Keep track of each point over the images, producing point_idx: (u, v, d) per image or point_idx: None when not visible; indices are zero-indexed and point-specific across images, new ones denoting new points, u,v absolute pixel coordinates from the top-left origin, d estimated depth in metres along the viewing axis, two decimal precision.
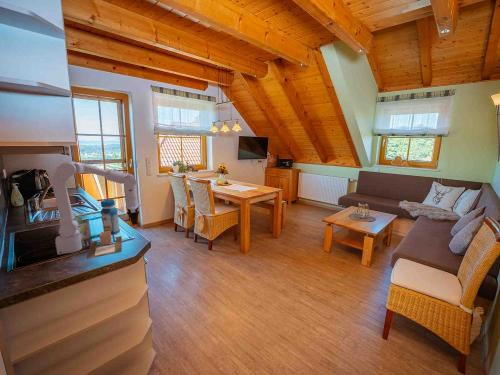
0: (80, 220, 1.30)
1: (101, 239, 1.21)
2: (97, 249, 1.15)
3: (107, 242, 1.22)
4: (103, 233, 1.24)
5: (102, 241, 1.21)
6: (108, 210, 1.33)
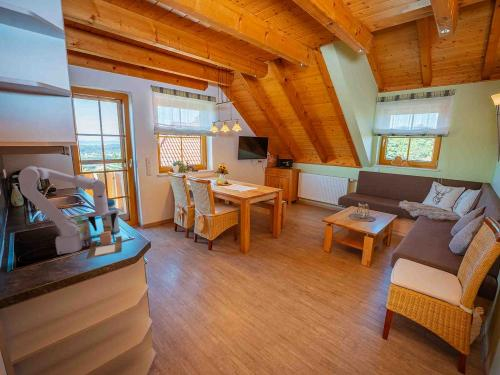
0: (80, 220, 1.30)
1: (101, 239, 1.21)
2: (97, 249, 1.15)
3: (107, 242, 1.22)
4: (103, 233, 1.24)
5: (102, 241, 1.21)
6: None
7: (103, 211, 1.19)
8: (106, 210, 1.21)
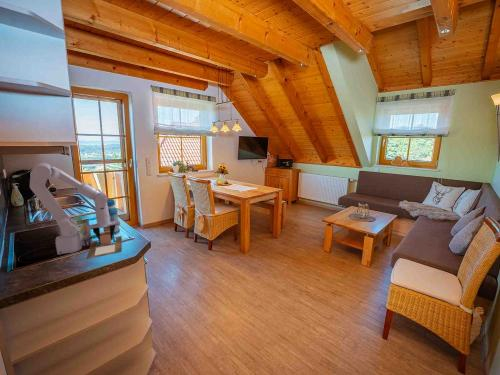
0: (80, 220, 1.30)
1: (101, 239, 1.21)
2: (97, 249, 1.15)
3: (107, 242, 1.22)
4: (103, 233, 1.24)
5: (102, 241, 1.21)
6: None
7: (105, 223, 1.21)
8: (108, 222, 1.22)
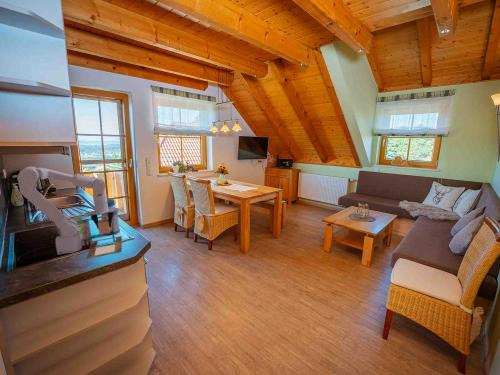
0: (80, 220, 1.30)
1: (99, 226, 1.19)
2: (97, 249, 1.15)
3: (105, 229, 1.21)
4: (101, 220, 1.22)
5: (100, 228, 1.20)
6: None
7: (103, 210, 1.19)
8: (106, 209, 1.21)
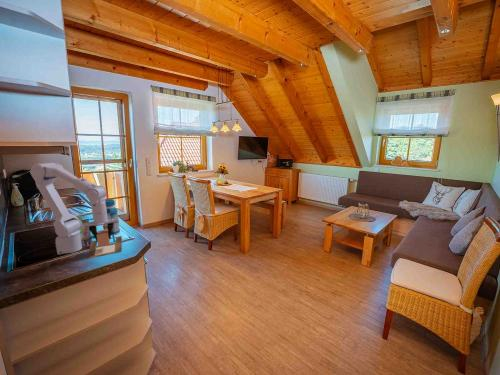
0: (80, 220, 1.30)
1: (98, 238, 1.11)
2: (97, 249, 1.15)
3: (105, 241, 1.12)
4: (100, 232, 1.13)
5: (99, 240, 1.11)
6: (108, 210, 1.33)
7: (102, 220, 1.10)
8: (105, 219, 1.11)
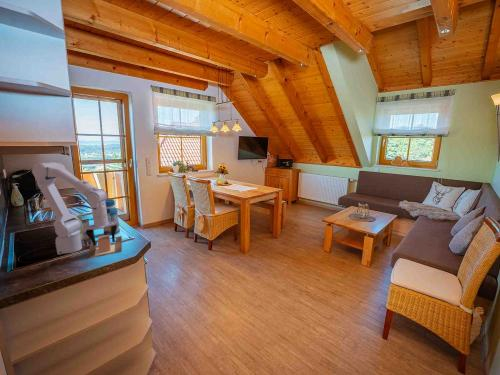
0: (80, 220, 1.30)
1: (99, 244, 1.11)
2: (97, 249, 1.15)
3: (105, 247, 1.13)
4: (101, 237, 1.14)
5: (100, 246, 1.12)
6: (108, 210, 1.33)
7: (102, 224, 1.10)
8: (106, 222, 1.12)
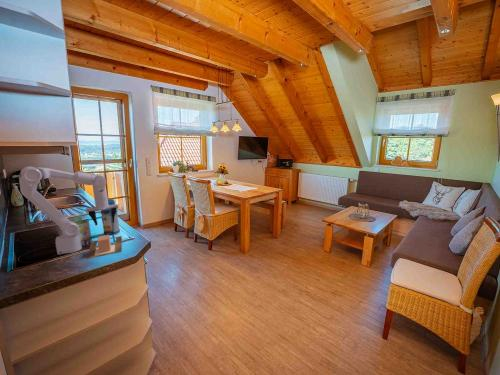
0: (80, 220, 1.30)
1: (99, 244, 1.11)
2: (97, 249, 1.15)
3: (105, 247, 1.13)
4: (101, 237, 1.14)
5: (100, 246, 1.12)
6: (108, 210, 1.33)
7: (103, 205, 1.21)
8: (106, 205, 1.23)
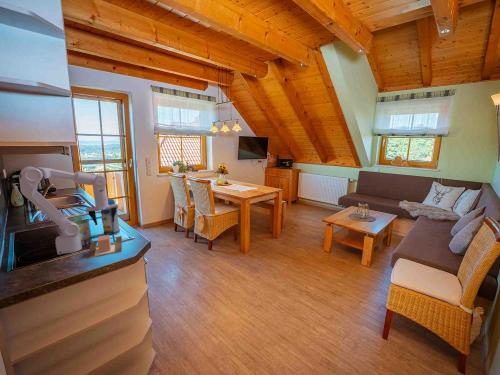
0: (80, 220, 1.30)
1: (99, 244, 1.11)
2: (97, 249, 1.15)
3: (105, 247, 1.13)
4: (101, 237, 1.14)
5: (100, 246, 1.12)
6: (108, 210, 1.33)
7: (103, 205, 1.22)
8: (106, 204, 1.23)
